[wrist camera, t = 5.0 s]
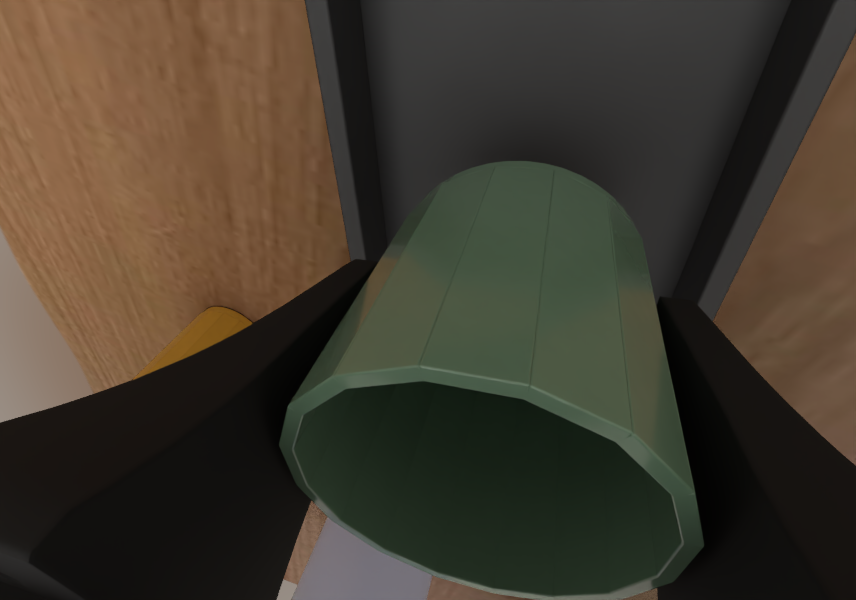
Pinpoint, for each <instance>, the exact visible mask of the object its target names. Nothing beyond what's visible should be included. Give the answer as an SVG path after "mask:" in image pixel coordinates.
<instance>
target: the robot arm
mask: <svg viewBox="0 0 856 600" xmlns="http://www.w3.org/2000/svg"><path fill="white" fill-rule="evenodd" d="M377 264H378V262H377V261H369V260H361V259H355V260H353V261H351V262H350V263H348V264H346V265H345V266H343V267H341V268H340V269H338V270H337V271H335V272H334V273H332V274H331V275H329V276H328V277H326V278H325V279H323V280H322V281H320V282H319V283H317V284H316V285H314V286H313V287H311V288H310V289H308V290H307V291H305V292H303V293H302V294H300V295H299V296H297V297H296V298H294V299H293V300H291V301H290V302H288V303H287V304H285V305H283V306H282V307H280V308H278V309H277V310H275V311H273V312H271V313H270V314H268V315H266V316H265V317H263V318H261V319H260V320H258V321H256V322H255V323H253V324H251V325H250V326H248V327H246V328H244V329H243V330H241V331H239V332H237V333H235V334H233V335H231V336H230V337H228V338H226V339H224V340H222V341H220V342H218V343H216V344H214V345H212V346H210V347H208V348H206V349H204V350H201V351H199V352H197V353H195V354H193V355H191V356H189V357H187V358H184V359H182V360H179V361H177V362H175V363H172V364H170V365H167V366H165V367H163V368H160V369H158V370H156V371H153V372H151V373H148V374H146V375H144V376H141V377H139V378H136V379H134V380H131V381H129V382H126V383H123V384H120V385H118V386H115V387H112V388H109V389H107V390H104V391H101V392H98V393H95V394H92V395H89V396H87V397H83V398H80V399H77V400H75V401H72V402H69V403H65V404H62V405H59V406H56V407H53V408H50V409H46V410H43V411H39V412H36V413H32V414H29V415H25V416H22V417H18V418H15V419H12V420H8V421H4V422H1V423H0V600H276V599H277V596H278V593H279V590H280V586H281V584H282V581H283V578H284V575H285V572H286V569H287V566H288V563H289V560H290V558H291V555H292V552H293V549H294V546H295V543H296V540H297V537H298V535H299V532H300V529H301V526H302V524H303V521H304V518H305V516H306V513H307V510H308V507H309V505H310V502H311V499H310V498H309V497H308V496H307V495H306V494H305V493H304V492H303V491H302V490H301V489H300V488H299V487H298V486H297V484H295V481H294V479H293V477H292V474H291V472H290V470H289V468H288V465H287V463H286V461H285V459H284V456H283V454H282V452H281V450H280V447H279V441H280V436H281V432H282V428H283V424H284V420H285V416H286V411H287V407H288V405H289V403H290V402H291V400H292V399H293V397H294V395H295V394H296V392H297V391H298V389H299V387H300V386H301V384H302V383H303V381H304V380H305V378H306V376H307V375H308V373H309V372H310V370H311V368H312V367H313V365H314V364H315V362H316V361H317V359H318V357H319V356H320V354H321V353H322V351H323V349H324V348H325V346H326V345H327V343H328V342H329V340H330V338H331V337H332V335H333V334H334V332H335V330H336V329H337V327H338V326H339V324H340V322H341V321H342V319H343V318H344V316H345V315H346V313H347V311H348V310H349V308H350V307H351V305H352V303H353V302H354V300H355V299H356V297H357V296H358V294H359V292H360V291H361V289H362V288H363V286H364V284H365V283H366V281H367V280H368V278H369V277H370V275H371V273H372V272H373V270H374V269H375V267H376V265H377ZM656 307H657V312H658V317H659V321H660V326H661V331H662V336H663V340H664V345H665V350H666V355H667V359H668V364H669V369H670V374H671V378H672V383H673V388H674V393H675V397H676V402H677V407H678V412H679V416H680V421H681V426H682V431H683V435H684V440H685V445H686V450H687V454H688V459H689V464H690V469H691V473H692V478H693V483H694V488H695V492H696V498H697V503H698V509H699V514H700V520H701V525H702V531H703V536H704V542H705V545H704V548H703V549H702V550H701V551H700V552H699V554H698V555H697V556H696V557H695V558H694V559H693V561H692V562H691V563H690V564H689V565H688V566H687V568H686V569H685V570H684V571H683V572H682V573H681V575H680V576H679V577H678V578H677V579H676V581H673V583H670V584H667V585H664V586H661V587H658V588H657V590H658V600H856V466H855V465H854V464H853V463H852V462H851V461H849V460H848V459H847V458H846V457H845V456H844V455H842V454H841V453H840V452H839V451H838V450H837V449H836V448H835V447H833V446H832V445H831V444H830V443H829V442H828V441H827V440H826V439H825V438H824V437H822V436H821V435H820V434H819V433H818V432H817V431H816V430H815V429H814V428H813V427H812V426H811V425H810V424H809V423H808V422H807V421H806V420H805V419H804V418H803V417H802V416H801V415H800V414H798V413H797V412H796V411H795V410H794V409H793V408H792V407H791V406H790V405H789V404H788V403H787V402H786V401H785V400H784V399H783V398H782V397H781V396H780V395H779V394H778V393H777V392H776V391H775V390H774V389H773V388H772V387H771V386H770V385H769V383H768V382H767V381H766V380H765V379H764V378H763V377H762V376H761V375H760V374H759V373H758V372H757V371H756V370H755V369H754V368H753V366H752V365H751V364H750V363H749V362H748V361H747V360H746V359H745V358H744V357H743V355H742V354H741V353H740V352H739V351H738V350H737V349H736V348H735V347H734V345H733V344H732V343H731V342H730V341H729V340H728V339H727V338H726V336H725V335H724V334H723V333H722V332H721V331H720V330H719V328H718V327H717V326H716V325H715V324H714V323H713V322H712V320H711V319H710V318H709V317H708V316H707V315H706V314H705V312H704V311H703V310H702V309H701V308H700V307H699V306H698V305H697V304H696V303H695V302H694V301H693V300H685V299H677V298H669V297H661V296H660V298H659V300H658V303H657V305H656ZM431 579H432V575H430V574H428V573H426V572H424V571H421V570H419V569H417V568H415V567H412V566H410V565H408V564H406V563H403V562H401V561H399V560H397V559H394V558H392V557H390V556H388V555H385V554H383V553H381V552H379V551H377V550H376V549H374V548H373V547H371V546H370V545H368V544H366V543H365V542H363V541H362V540H360V539H359V538H357V537H356V536H354V535H353V534H351V533H350V532H348V531H347V530H345V529H344V528H342V527H340V526H339V525H337V524H336V523H334V522H333V521H332V520H330V519H329V518H328V517H327V519H326V522H325V524H324V526H323V528H322V531H321V533H320V535H319V538H318V540H317V542H316V544H315V547H314V549H313V551H312V553H311V556H310V558H309V560H308V563H307V565H306V567H305V569H304V572H303V574H302V576H301V578H300V581H299V583H298V585H297V588H296V590H295V592H294V594H293V597H292V599H291V600H427V596H428V592H429V588H430V583H431Z"/></svg>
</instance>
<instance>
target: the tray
mask: <svg viewBox="0 0 856 600" xmlns="http://www.w3.org/2000/svg"><path fill="white" fill-rule="evenodd" d="M305 4H306V10H307V15H308V21H309V27H310V32H311V38H312V44H313V49H314V55H315V61H316V66H317V72H318V78H319V83H320V89H321V95H322V100H323V106H324V112H325V117H326V123H327V129H328V134H329V140H330V146H331V151H332V157H333V163H334V168H335V174H336V180H337V186H338V191H339V197H340V203H341V208H342V214H343V220H344V225H345V231H346V237H347V242H348V248H349V254H350V259H351V261H353V260H355V259H361V260H369V261H377V262H379V261H380V259H381V258H382V256H383V254H384V253H385V251H386V250H387V248H388V246H389V245H390V243H391V242H392V240H393V238H394V237H395V235H396V234H397V232H398V231H399V229H400V227H401V226H402V224H403V223H404V221H405V219H406V218H407V216H408V215H409V213H411V212H412V211H413V210H414V209H415V208H416V207H417V205H418V204H419V203H420V202H421V200H422V199H423V198H424V197H425V196H426V195H427V194H428V193H429V192H430V191H431V190H433V189H434V188H435V187H436V186H438V185H439V184H440V183H442V182H443V181H445V180H447V179H448V178H450V177H452V176H454V175H455V174H458V173H460V172H462V171H465V170H467V169H470V168H473V167H476V166H480V165H484V164H488V163H495V162H503V161H530V162H538V163H545V164H549V165H553V166H557V167H561V168H564V169H567V170H569V171H572V172H574V173H577V174H579V175H581V176H583V177H585V178H587V179H588V180H590V181H592V182H594V183H595V184H597V185H599V186H600V187H601V188H602V189H604V190H605V191H606V192H608V193H609V194H610V195H611V196H612V197H613V198H614V199H615V200H616V201H617V202H618V203H619V204H620V205H621V206H622V207H623V208H624V209H625V211H626V212H627V214H628V215H629V217H630V218H631V219H632V221H633V222H634V225H635V227H636V229H637V231H638V233H639V234H640V235H641V238H642V241H643V245H644V250H645V255H646V260H647V264H648V269H649V274H650V279H651V283H652V288H653V293H654V298H655V302H656V305H657V303H658V300H659V298H660V296H661V297H669V298H677V299H685V300H693V301H694V302H695V303H696V304H697V305H698V306H699V307H700V308H701V309H702V310H703V311H704V312H705V314H706V315H707V316H708V317H709V318H710V319H711V320H712V321H713V319H714V317H715V315H716V313H717V311H718V309H719V307H720V305H721V303H722V301H723V299H724V297H725V295H726V293H727V291H728V289H729V287H730V285H731V283H732V281H733V279H734V277H735V275H736V273H737V271H738V269H739V267H740V265H741V263H742V261H743V259H744V257H745V255H746V253H747V251H748V249H749V247H750V245H751V243H752V241H753V239H754V237H755V235H756V233H757V231H758V229H759V227H760V225H761V223H762V221H763V219H764V217H765V215H766V213H767V211H768V209H769V207H770V205H771V203H772V201H773V199H774V197H775V195H776V193H777V191H778V189H779V187H780V185H781V183H782V181H783V179H784V177H785V175H786V172H787V170H788V168H789V166H790V164H791V162H792V160H793V158H794V156H795V154H796V152H797V150H798V148H799V146H800V144H801V142H802V140H803V138H804V136H805V134H806V132H807V130H808V128H809V126H810V124H811V122H812V120H813V118H814V116H815V114H816V112H817V110H818V108H819V106H820V104H821V102H822V100H823V98H824V96H825V94H826V92H827V90H828V88H829V86H830V84H831V82H832V80H833V78H834V76H835V74H836V72H837V70H838V68H839V66H840V64H841V62H842V60H843V58H844V56H845V54H846V52H847V50H848V48H849V46H850V44H851V42H852V40H853V38H854V36H855V34H856V0H305Z"/></svg>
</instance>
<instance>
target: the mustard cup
mask: <svg viewBox="0 0 856 600" xmlns="http://www.w3.org/2000/svg"><path fill="white" fill-rule="evenodd" d="M251 324H253V323H252V322H251V321H249V320H248V319H247V318H245V317H244V316H243V315H241V314H239V313H237V312H235V311H233V310H231V309H228V308H224V307H210V308H207V309H206V310H204V311H203V312H202V313H200V314H199V315H198V316H197V317H196V318H195V319H194V320H193V321H192V322H191V323H190V324H189V325H188V326H187V327H186V328H185V329H184V330H183V331H182V332H181V333H180V334H179V335H177V336H176V337H175V338H174V339H173V340H172V341H171V342H170V343H169V344H168V345H167V346H166V347H165V348H164V349H163V350H162V351H161V352H160V353H159V354H158V355H157V356H156V357H155V358H154V359H153V360H152V361H151V362H150V363H149V364H148V365H147V366H146V367H145V368H144V369H143V370H142V371H141V372H139V373H138V374H137V375H136V376H135V377H134V378H133V379H132V380H134V379H136V378H139V377H141V376H144V375H146V374H148V373H151V372H153V371H156V370H158V369H160V368H163V367H165V366H167V365H170V364H172V363H175V362H177V361H179V360H182V359H184V358H187V357H189V356H191V355H193V354H195V353H197V352H199V351H201V350H204V349H206V348H208V347H210V346H212V345H214V344H216V343H218V342H220V341H222V340H224V339H226V338H228V337H230V336H231V335H233V334H235V333H237V332H239V331H241V330H243V329H244V328H246V327H248V326H250V325H251Z"/></svg>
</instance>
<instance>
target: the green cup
mask: <svg viewBox="0 0 856 600" xmlns="http://www.w3.org/2000/svg"><path fill="white" fill-rule="evenodd" d="M279 447H280V450H281V452H282V454H283V456H284V459H285V461H286V463H287V465H288V468H289V470H290V472H291V474H292V477H293V479H294V481H295V484H297V486H298V487H299V488H300V489H301V490H302V491H303V492H304V493H305V494H306V495H307V496H308V497H309V498H310V499H311V500H312V501H313V502H314V503H315V504H316V505H317V506H318V507H319V508H320V510H321V511H322V512H323V513H324V514H325V515H326V516H327V517H328V518H329V519H330V520H332V521H333V522H334V523H336V524H337V525H339V526H340V527H342V528H344V529H345V530H347V531H348V532H350V533H351V534H353V535H354V536H356V537H357V538H359V539H360V540H362V541H363V542H365V543H366V544H368V545H370V546H371V547H373V548H374V549H376V550H377V551H379V552H381V553H383V554H385V555H388V556H390V557H392V558H394V559H397V560H399V561H401V562H403V563H406V564H408V565H410V566H412V567H415V568H417V569H419V570H421V571H424V572H426V573H428V574H430V575H433V576H435V577H439V578H442V579H446V580H449V581H453V582H456V583H459V584H463V585H466V586H470V587H473V588H477V589H480V590H484V591H487V592H491V593H496V594H501V595H508V596H515V597H523V598H530V599H537V600H620V599H625V598H628V597H631V596H634V595H637V594H640V593H643V592H646V591H649V590H652V589H655V588H658V587H661V586H664V585H667V584H670V583H673V581H676V579H677V578H678V577H679V576H680V575H681V573H682V572H683V571H684V570H685V569H686V568H687V566H688V565H689V564H690V563H691V562H692V561H693V559H694V558H695V557H696V556H697V555H698V554H699V552H700V551H701V550H702V549H703V548H704V545H705V542H704V536H703V531H702V525H701V520H700V514H699V509H698V503H697V498H696V492H695V488H694V483H693V478H692V473H691V469H690V464H689V459H688V454H687V450H686V445H685V440H684V435H683V431H682V426H681V421H680V416H679V412H678V407H677V402H676V397H675V393H674V388H673V383H672V378H671V374H670V369H669V364H668V359H667V355H666V350H665V345H664V340H663V336H662V331H661V326H660V321H659V317H658V312H657V307H656V302H655V298H654V293H653V288H652V283H651V279H650V274H649V269H648V264H647V260H646V255H645V250H644V245H643V241H642V238H641V235H640V234H639V233H638V231H637V229H636V227H635V225H634V222H633V221H632V219H631V218H630V217H629V215H628V214H627V212H626V211H625V209H624V208H623V207H622V206H621V205H620V204H619V203H618V202H617V201H616V200H615V199H614V198H613V197H612V196H611V195H610V194H609V193H608V192H606V191H605V190H604V189H602V188H601V187H600V186H599V185H597V184H595V183H594V182H592V181H590V180H588V179H587V178H585V177H583V176H581V175H579V174H577V173H574V172H572V171H569V170H567V169H564V168H561V167H557V166H553V165H549V164H545V163H538V162H530V161H503V162H495V163H488V164H484V165H480V166H476V167H473V168H470V169H467V170H465V171H462V172H460V173H458V174H455V175H454V176H452V177H450V178H448V179H447V180H445V181H443V182H442V183H440V184H439V185H438V186H436V187H435V188H434V189H433V190H431V191H430V192H429V193H428V194H427V195H426V196H425V197H424V198H423V199H422V200H421V202H420V203H419V204H418V205H417V207H416V208H415V209H414V210H413V211H412V212H411V213H409V215H408V216H407V218H406V219H405V221H404V223H403V224H402V226H401V227H400V229H399V231H398V232H397V234H396V235H395V237H394V238H393V240H392V242H391V243H390V245H389V246H388V248H387V250H386V251H385V253H384V254H383V256H382V258H381V259H380V261H379V262H378V264H377V265H376V267H375V269H374V270H373V272H372V273H371V275H370V277H369V278H368V280H367V281H366V283H365V284H364V286H363V288H362V289H361V291H360V292H359V294H358V296H357V297H356V299H355V300H354V302H353V303H352V305H351V307H350V308H349V310H348V311H347V313H346V315H345V316H344V318H343V319H342V321H341V322H340V324H339V326H338V327H337V329H336V330H335V332H334V334H333V335H332V337H331V338H330V340H329V342H328V343H327V345H326V346H325V348H324V349H323V351H322V353H321V354H320V356H319V357H318V359H317V361H316V362H315V364H314V365H313V367H312V368H311V370H310V372H309V373H308V375H307V376H306V378H305V380H304V381H303V383H302V384H301V386H300V387H299V389H298V391H297V392H296V394H295V395H294V397H293V399H292V400H291V402H290V403H289V405H288V407H287V411H286V416H285V420H284V424H283V428H282V432H281V436H280V441H279Z"/></svg>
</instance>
